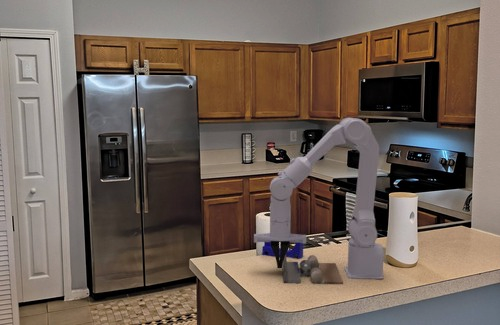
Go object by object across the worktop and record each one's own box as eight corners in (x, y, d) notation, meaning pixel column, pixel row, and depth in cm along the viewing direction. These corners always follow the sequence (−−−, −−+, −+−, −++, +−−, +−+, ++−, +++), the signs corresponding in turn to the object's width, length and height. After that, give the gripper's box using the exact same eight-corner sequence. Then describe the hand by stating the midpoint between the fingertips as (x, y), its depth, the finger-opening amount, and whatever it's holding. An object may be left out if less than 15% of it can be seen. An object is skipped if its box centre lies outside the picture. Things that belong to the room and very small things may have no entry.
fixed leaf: (335, 265, 142) (335, 255, 141) (342, 284, 127) (343, 273, 126) (307, 265, 142) (307, 255, 142) (311, 284, 127) (311, 272, 127)
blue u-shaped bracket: (262, 256, 151) (262, 237, 150) (267, 252, 155) (268, 234, 154) (298, 261, 146) (298, 242, 145) (303, 257, 150) (303, 238, 149)
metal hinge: (308, 264, 142) (309, 254, 142) (313, 283, 127) (313, 272, 127) (282, 264, 142) (282, 253, 142) (283, 282, 128) (284, 271, 127)
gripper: (305, 217, 137) (304, 262, 138) (254, 216, 137) (254, 261, 139) (307, 223, 130) (306, 271, 131) (253, 222, 130) (253, 270, 132)
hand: (279, 267), depth 135 cm, fingers closed
